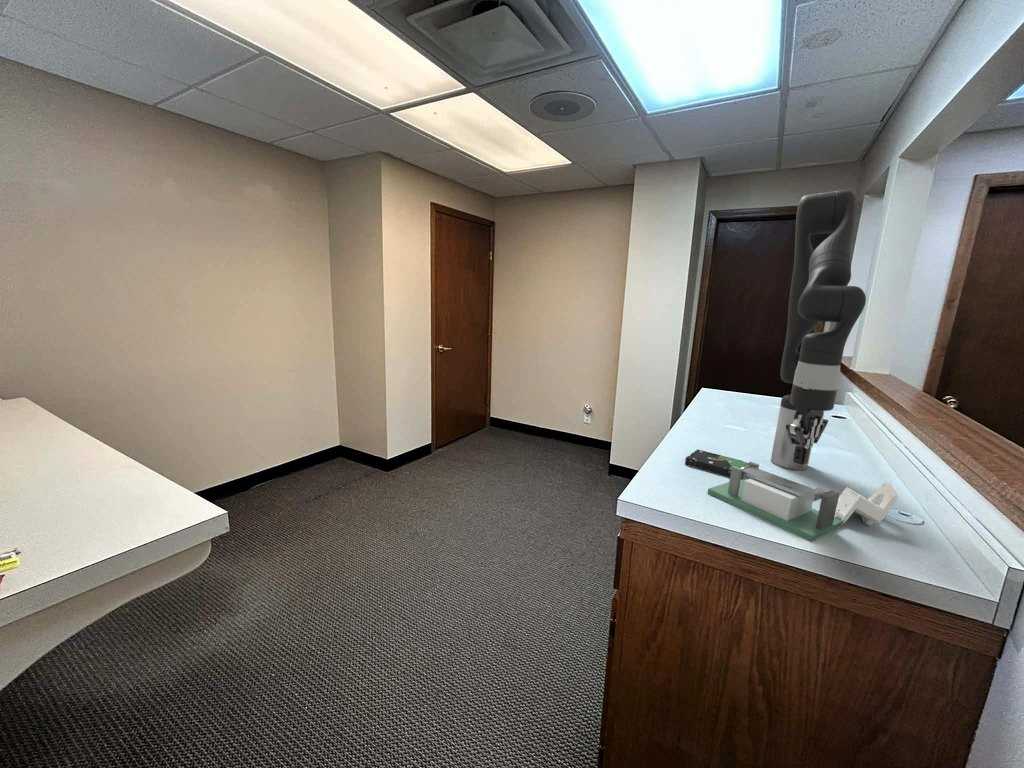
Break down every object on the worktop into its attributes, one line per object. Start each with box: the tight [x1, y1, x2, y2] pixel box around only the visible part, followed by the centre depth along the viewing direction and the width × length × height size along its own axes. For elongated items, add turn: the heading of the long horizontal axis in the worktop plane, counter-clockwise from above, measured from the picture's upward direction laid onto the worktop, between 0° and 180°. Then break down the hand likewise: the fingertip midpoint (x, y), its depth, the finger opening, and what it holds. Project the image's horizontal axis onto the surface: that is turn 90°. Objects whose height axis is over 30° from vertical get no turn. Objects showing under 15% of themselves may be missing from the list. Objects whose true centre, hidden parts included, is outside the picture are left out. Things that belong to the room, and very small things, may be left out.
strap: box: [741, 465, 828, 503], centre depth 93 cm, size 5×17×2 cm, turn 30°
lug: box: [816, 489, 840, 530], centre depth 85 cm, size 5×2×7 cm, turn 120°
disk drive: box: [684, 449, 749, 480], centre depth 118 cm, size 10×3×15 cm
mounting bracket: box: [834, 481, 899, 526], centre depth 91 cm, size 12×6×11 cm, turn 147°
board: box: [707, 461, 843, 542], centre depth 94 cm, size 13×23×8 cm, turn 30°
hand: (799, 462), depth 89 cm, fingers closed
